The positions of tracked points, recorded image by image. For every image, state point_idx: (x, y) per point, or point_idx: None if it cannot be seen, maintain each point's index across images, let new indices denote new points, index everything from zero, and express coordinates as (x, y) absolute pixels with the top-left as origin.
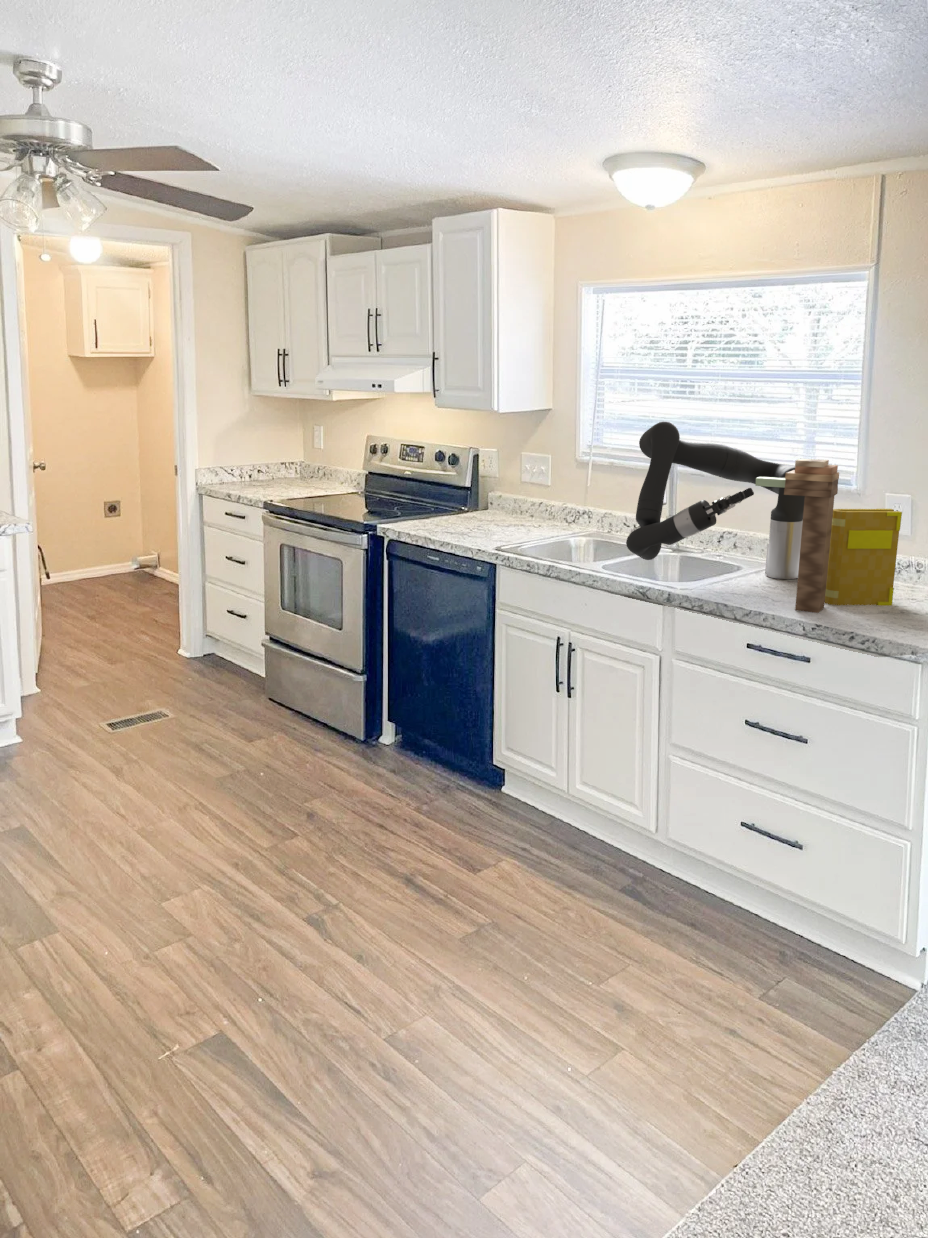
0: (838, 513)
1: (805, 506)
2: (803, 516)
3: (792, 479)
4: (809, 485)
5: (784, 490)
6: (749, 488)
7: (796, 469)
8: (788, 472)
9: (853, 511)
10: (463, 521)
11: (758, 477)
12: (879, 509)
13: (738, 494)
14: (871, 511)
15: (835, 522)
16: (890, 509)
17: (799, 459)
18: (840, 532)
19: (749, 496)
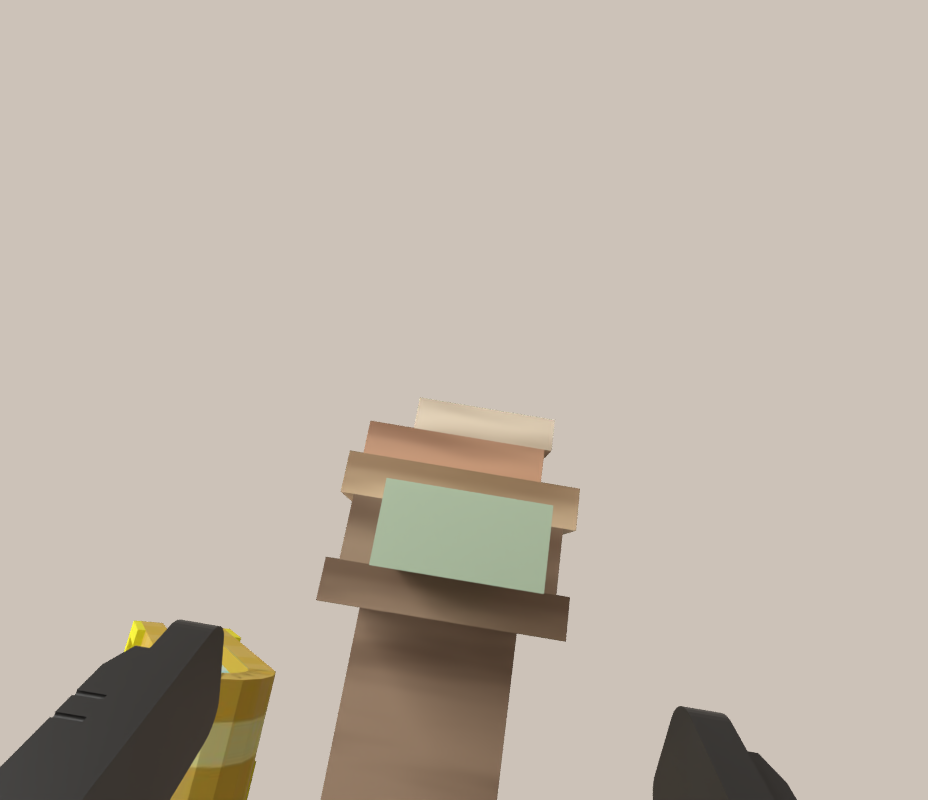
0: (262, 689)
1: (508, 692)
2: (500, 762)
3: (565, 533)
4: None
5: (567, 610)
6: (213, 638)
7: (540, 472)
8: (537, 483)
9: (250, 662)
10: None
11: (479, 495)
12: (162, 631)
13: (776, 783)
14: (231, 646)
15: (243, 744)
16: (158, 624)
17: (482, 410)
18: (245, 791)
19: (180, 782)
